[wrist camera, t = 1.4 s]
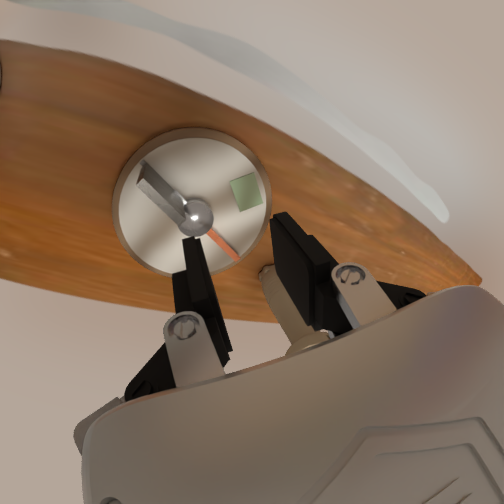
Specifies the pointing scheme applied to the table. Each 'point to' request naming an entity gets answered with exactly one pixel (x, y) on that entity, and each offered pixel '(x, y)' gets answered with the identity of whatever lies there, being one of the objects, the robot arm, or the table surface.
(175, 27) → the table surface
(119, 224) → the base
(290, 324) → the handle
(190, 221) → the dial pointer
